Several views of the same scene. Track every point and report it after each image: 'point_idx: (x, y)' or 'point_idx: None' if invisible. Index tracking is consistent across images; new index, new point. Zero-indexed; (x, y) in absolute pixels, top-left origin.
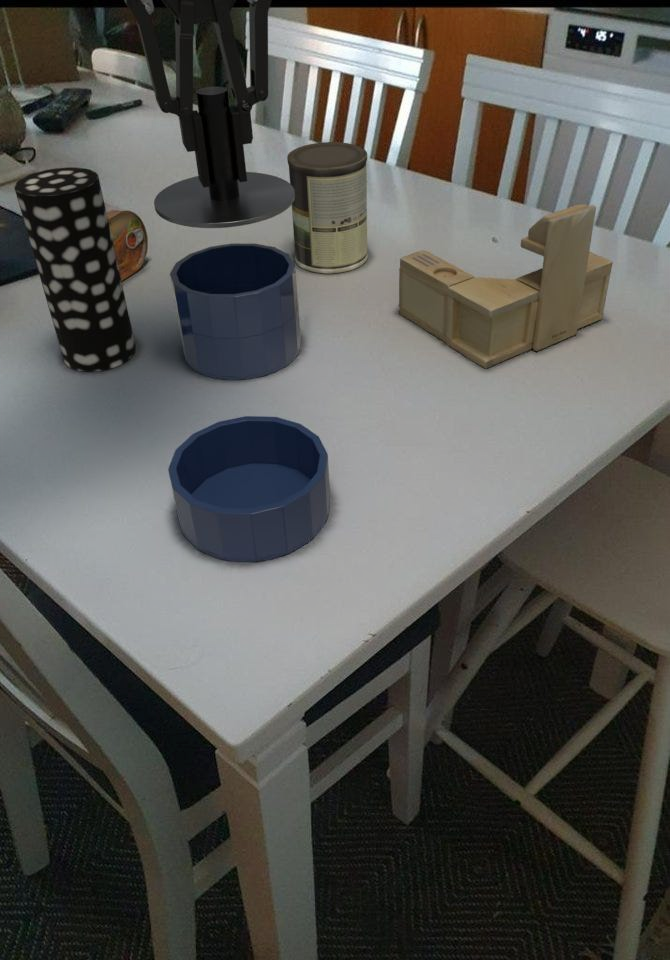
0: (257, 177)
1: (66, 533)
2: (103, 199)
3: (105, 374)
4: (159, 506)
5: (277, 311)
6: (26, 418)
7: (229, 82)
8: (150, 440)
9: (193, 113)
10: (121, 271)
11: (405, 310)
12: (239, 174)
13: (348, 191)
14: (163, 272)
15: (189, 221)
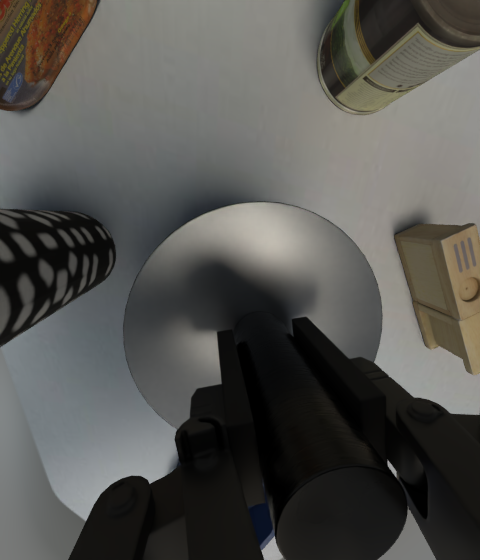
0: (330, 254)
1: (95, 492)
2: (7, 281)
3: (88, 295)
4: (158, 472)
5: None
6: (23, 358)
7: (439, 483)
8: (145, 402)
9: (240, 457)
10: (66, 33)
11: (401, 246)
12: None
13: (460, 60)
14: (132, 34)
15: None
